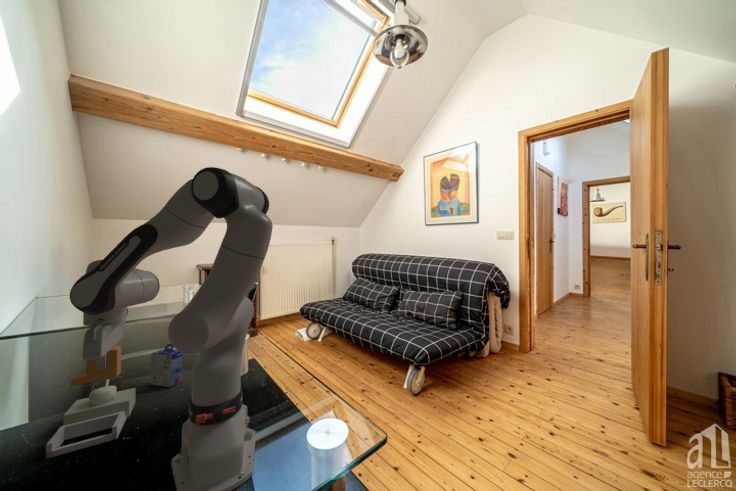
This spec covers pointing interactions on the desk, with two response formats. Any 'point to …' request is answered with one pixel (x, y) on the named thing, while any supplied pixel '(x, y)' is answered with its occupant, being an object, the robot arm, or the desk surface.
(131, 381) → the desk surface
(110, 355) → the orange upright block
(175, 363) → the ink cartridge box
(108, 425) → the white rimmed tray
